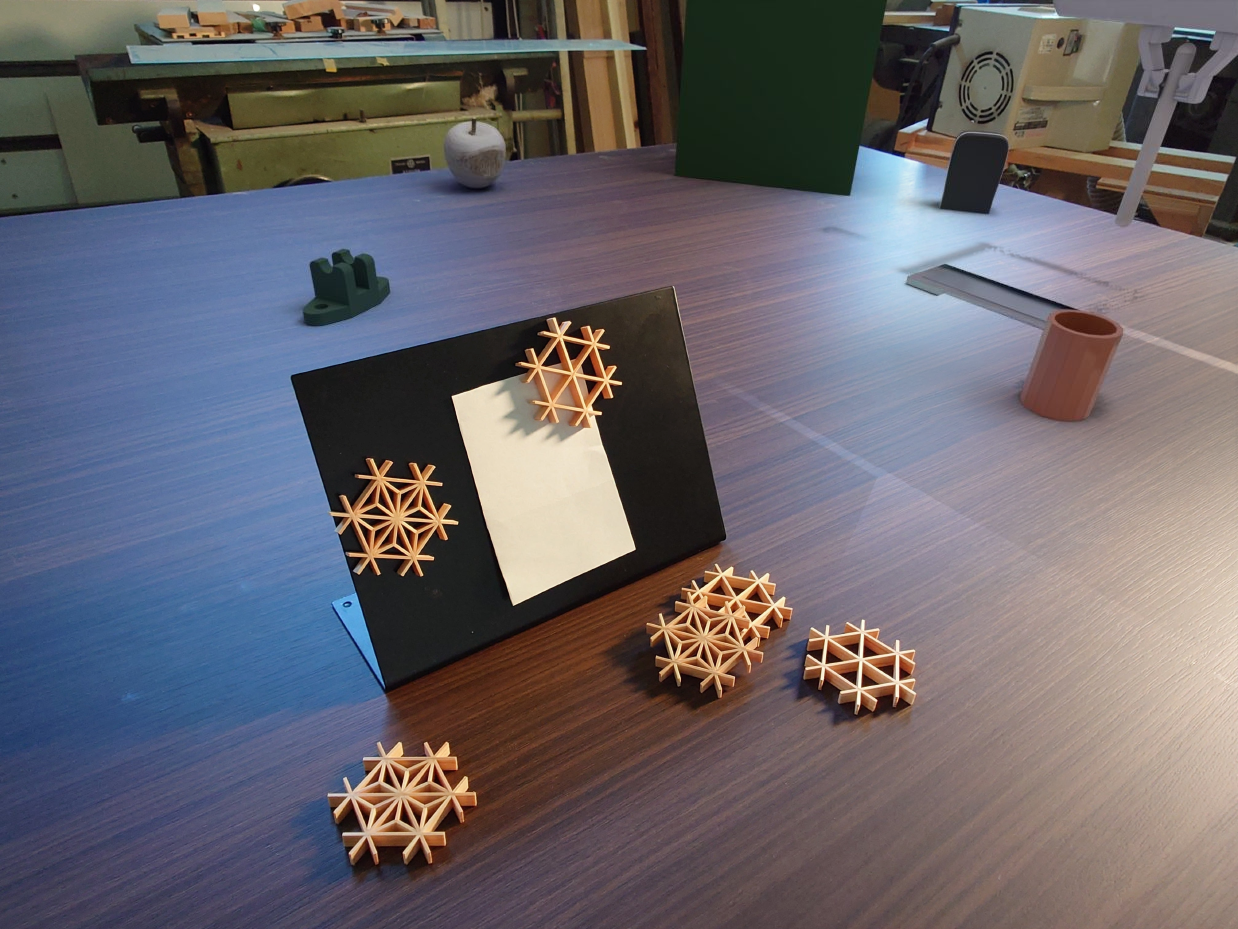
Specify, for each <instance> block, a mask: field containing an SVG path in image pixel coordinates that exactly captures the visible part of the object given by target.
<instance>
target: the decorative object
mask: <svg viewBox="0 0 1238 929" xmlns="http://www.w3.org/2000/svg"><path fill="white" fill-rule="evenodd" d="M506 148H507V147H506V141H505V139H504V136H503V134H501V131H499V130H498V129H497V128H496V127H494V126H493V125H492V124H491V125H490V124H489V123H486V122H482V121H477V116H472V117H471V121H463V122H460V123H457V124H456V125H454V126H452V127H451V128H450V129H449V130H448V131H447V132H446V135H445V137H444V140H443V153H444V158H445V163H446V166H447V167H448V170H449V171H450V173H451V174H452V176H453V177H454V179H455V180H456V181H457V182H458V183H460V184H462V185H463V186H465V187H467V188H470V189H483V188H487V187H489V186H491V185H492V184H494V183H495V182H496V181H497V180H498V178H499V177H500V176H501V174H502V173H503V172H502V171H503V170H504V167H505V163H506V156H507V150H506Z"/></svg>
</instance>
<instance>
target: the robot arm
mask: <svg viewBox="0 0 1238 929" xmlns="http://www.w3.org/2000/svg"><path fill="white" fill-rule="evenodd" d="M1052 3H1053V7H1054V10H1055V12H1056V14H1057V16H1059V17H1063V18H1071V19H1084V20H1093V21H1102V22H1103V21H1104V22H1114V23H1124V24H1125V23H1126V24H1135V25H1136V24H1137V25H1142V28H1141V30H1140V33H1139V36H1138V39H1137V41H1136V43H1137V47H1138V52H1139V57H1140V60H1141V66H1142V70H1143V73H1142V76H1141V79H1140V83H1139V85H1138V88H1137V96H1140V97H1146V98H1147V97H1148V98H1155V99H1159V98H1160V95H1161V92H1162V90H1163V87H1164V84H1165V81H1166V79H1167V76H1168V73H1169V70H1170V69H1167V68H1165V61H1164V56H1163V55H1164V54H1163V47H1162V44H1163V43H1164V44H1165V43H1168V42H1170V41H1171V39H1172V37H1173V34H1174V31H1175V28H1177V29H1188V30H1198V31H1208V32H1214V34H1213V37H1212V40H1211V43H1210V45H1209V49H1210V51H1216V52H1215V53H1214V54H1213V55H1212V56H1211V58H1209V59H1208V60H1207V61H1206V62H1205V63H1204V64H1203V66H1201V68H1200V69H1198V71H1196V72H1188V74H1182V75H1181V78H1180V80H1179V83H1178V87H1179V89H1178V90H1176V91H1175V94H1174V97H1173V99H1174V101H1177V102H1180V103H1186V104H1194V105H1195V104H1201V103H1202V102H1203V101H1204V99H1205V98H1206V96H1207V92H1208V89H1209V88H1210V86H1211V83H1212V81H1213V78H1214V76H1216V75H1218V74H1219V73H1220V72H1221V71H1222V70H1223V69H1224V68H1225V67H1226V66H1228V64H1230V62H1232V61H1233V60H1234V59H1235V58H1236V57H1237V56H1238V0H1052Z"/></svg>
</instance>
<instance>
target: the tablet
mask: <svg viewBox="0 0 1238 929" xmlns="http://www.w3.org/2000/svg"><path fill="white" fill-rule="evenodd" d="M905 284H907V285H909V286H911V287H913V288H917V289H920V290H923V291H924V292H928V293H930V294H933V295H936V296H940V295H943V294H946V295H949V296H951V297H954V298H956V299H959V300H962V301H964V302H967V303H970V304H973V305H976V306H978V307H980V308H983V309H986V310H989V311H992V312H994V313H997V314H999V315H1002V316H1005V317H1008V318H1011V319H1014V320H1016V321H1018V322H1022V323H1024V324H1026V325H1029V326H1031V327H1035V328H1037V329H1040V330H1042V331H1043V330H1044V327H1045V324H1046V321H1047V319H1048V316H1049V314H1050V313H1051V312H1054V311H1056V310H1066V309H1067V310H1068V309H1069V310H1079V309H1078V308H1076V307H1073V306H1070V305H1066V304H1063V303H1060V302H1058V301H1055V300H1052V299H1049V298H1046V297H1043V296H1041V295H1038V294H1035V293H1033V292H1032V293H1031V292H1029V291H1026V290H1023V289H1020V288H1017V287H1014V286H1011V285H1009V284H1007V283H1006V284H1005V283H1002V282H999V281H997V280H993V279H990V278H989V277H985V276H982V275H979V274H976V273H973V272H970V271H968V270H965V269H962V268H959V267H956V266H953V265H950V264H947V263H943V264H940V265H937V266H934V267H931V268H928V269H925V270H921V271H918V272H916V273H913V274H910V275H907V277H906V280H905Z"/></svg>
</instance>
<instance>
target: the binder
mask: <svg viewBox="0 0 1238 929" xmlns="http://www.w3.org/2000/svg"><path fill="white" fill-rule="evenodd" d="M887 3H888V0H685V14H684V30H683V41H682V56H681V57H682V58H681V60H682V61H681V74H680V88H679V100H678V101H679V102H678V116H677V117H678V118H677V132H676V144H675V145H676V147H675V160H674V161H675V162H674V176H676V177H685V178H694V179H701V180H703V179H704V180H711V181H719V182H729V183H736V184H737V183H738V184H745V185H753V186H754V185H755V186H764V187H772V188H780V189H787V190H797V191H805V192H806V191H807V192H815V193H823V194H824V193H825V194H832V195H840V194H841V195H840V196H848V195H850V196H851V193H852V187H853V182H854V177H855V172H856V166H857V161H858V157H859V156H858V155H859V152H860V147H861V146H860V145H861V140H862V135H863V130H864V124H865V119H866V115H867V110H868V103H869V99H870V93H871V88H872V84H873V78H874V71H875V66H876V62H877V55H878V51H879V47H880V46H879V45H880V41H881V40H880V39H881V34H882V30H883V25H884V19H885V13H886V8H887Z"/></svg>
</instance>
